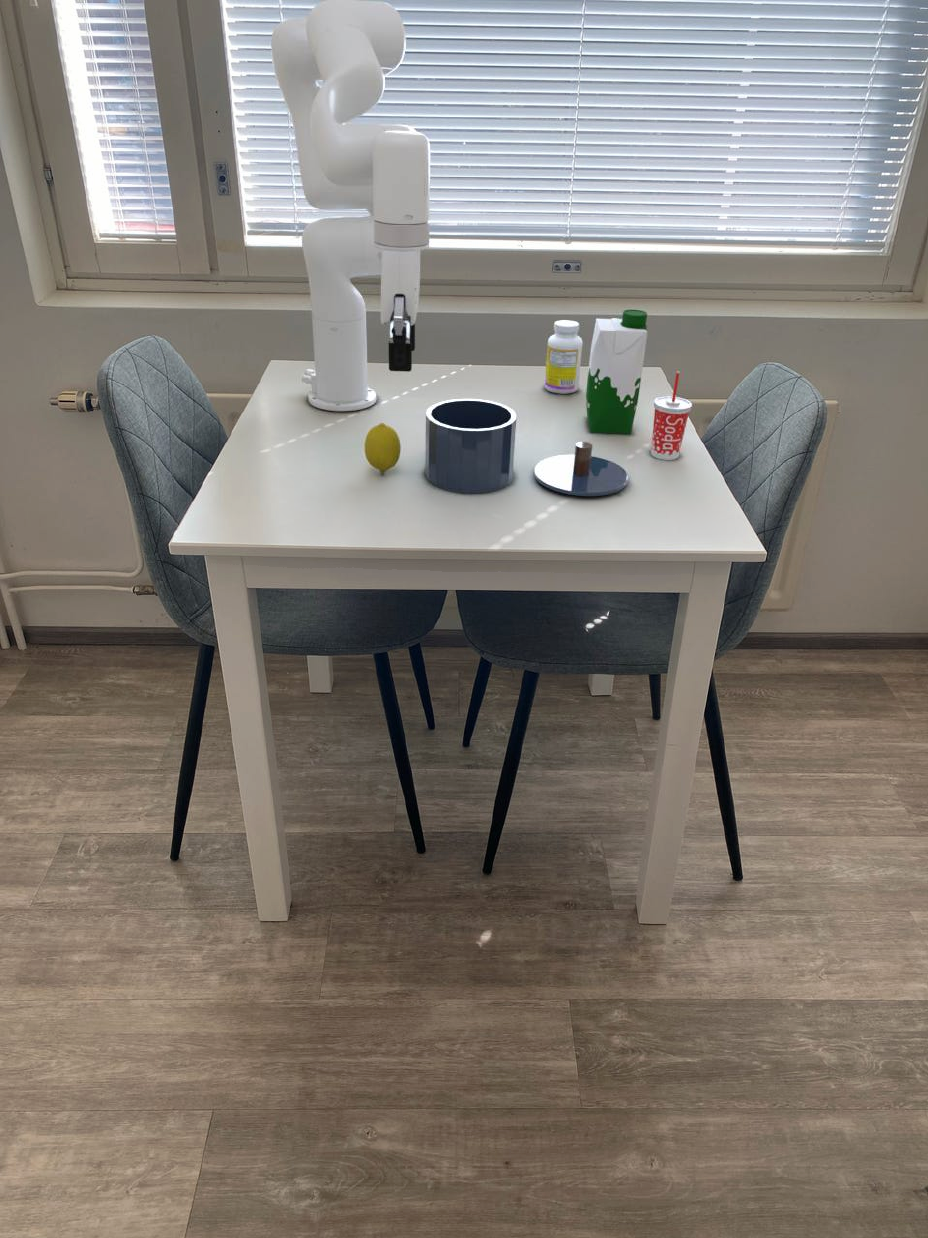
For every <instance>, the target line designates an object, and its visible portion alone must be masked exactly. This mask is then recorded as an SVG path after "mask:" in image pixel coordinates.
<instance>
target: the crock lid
mask: <svg viewBox="0 0 928 1238" xmlns="http://www.w3.org/2000/svg"><path fill="white" fill-rule="evenodd" d="M533 474H534V478H535V480H536V481H537V482H538V483H539V484H540V485H542V486H543V487H545V488H547V489H550V490H552V491H554V492H558V493H561V494H565V495H571V496H577V497H599V496H606V495H612V494H615V493H617V492H619V491H621V490H622V489H624V488H625V487H626V485H627V484H628V482H629V475H628V472H627V471H626V470H625V469H624V468H623V467H622V466H620V465H619V464H618V463H615V462H613V461H611V460H608V459H605V458H602V457H598V456H594V455H593V444H592V443H591V442H588V441H578V442H576V443H575V447H574V454H559V455H554V456H550V457H547V458H545V459H542V460H540V461H539V462H538V463H536V465H535V467H534V471H533Z"/></svg>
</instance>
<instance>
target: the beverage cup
mask: <svg viewBox="0 0 928 1238" xmlns="http://www.w3.org/2000/svg"><path fill="white" fill-rule="evenodd" d="M680 373H681V372H680V371H676V373H675V379H674V384H673V385H674V386H673V392H672V396H669V395H668V396H659V397H656V398H655V399H654V400H653V408H654V414H653V415H654V416H653V425H652V436H651V449H650V455H651V456H652V457H654V458H656V459H659V460H664V461H672V460H673V461H674V460H675V459H678V458H679V457H680V451H681V447H682V444H683V439H684V435H685V431H686V428H687V427H686V426H687V423H688V419H689V415H690V412H691V411H692V407H693V403H692V402H691V401H690V400H688V399H686V398H683V397H678V396H677V391H678V390H677V389H678V385H679V380H680V379H679V378H680Z"/></svg>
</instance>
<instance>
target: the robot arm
mask: <svg viewBox="0 0 928 1238" xmlns="http://www.w3.org/2000/svg"><path fill="white" fill-rule="evenodd" d="M406 37H407V36H406V29H405V25H404V22H403V18H402V17H401V14H400V13H399V11H398V10H397V9H396V8H395V7H394V6H393V5H391V4H390V3H388V2H384V1H376V0H375V1H374V0H324V1H321V2H319V3H317V4H316V5H315V6H314V7H313V8H312V9H311V10H310V12H309V13H308V15H307V17H294V18H293V17H292V18H289V19H288V18H287V19H285V20H283V21H281V22H279V23H278V24H277V25H276V26H275V27H274V29H273V30H272V34H271V40H270V49H271V50H270V52H271V61H272V67H273V71H274V76H275V79H276V82H277V86H278V87H279V91H280V94H281V96H282V98H283V101H284V103H285V105H286V108H287V111H288V113H289V116H290V119H291V122H292V126H293V127H292V128H293V133H294V139H295V146H296V152H297V153H296V154H297V161H298V165H299V166H298V167H299V171H300V172H299V173H300V180H301V185H302V190H303V194H304V197H305V200H306V201H307V203H308V204H309V206H311V207H312V208H314V209H318V210H325V211H327V210H329V211H340V210H366V211H367V212H368V213H369V215H357V216H356V215H355V216H354V215H345V216H344V215H341V216H340V215H339V216H325V217H320V218H316V219H314V220H311V221H310V222H309V223H307V224H306V226H305V227H304V228H303V231H302V233H301V246H302V247H301V248H302V253H303V257H304V263H305V267H306V274H307V279H308V286H309V294H310V305H311V306H310V307H311V308H310V309H311V322H312V323H311V325H312V339H313V342H312V343H313V356H314V358H313V359H314V369H311V368H307V369H305V372H304V374H303V375H302V376H301V382H302V383H304V384H309V385H311V390H310V391H309V392H308V394H307V395H308V400H307V401H308V403H309V404H310V405H312V407H315V408H317V409H320V410H324V411H330V412H355V411H360V410H364V409H367V408H369V407H372V406H373V405H374V404H375V403H376V402H377V393H376V391H375V390H374V389H372V388H370V387H369V379H368V378H369V377H368V341H367V338H368V337H367V309H366V302H365V300H364V298H363V295H362V294H361V293H360V292H359V290H358V289H357V288H356V287H355V286H354V284H353V283H352V282H351V279H353V278H358V277H369V276H371V277H372V276H380V323H381V325H383V326H386V324H389V341H388V370H389V371H390V372H407V373H408V372H411V371H412V369H413V358H412V357H413V354H412V353H413V352H414V351H415V349H416V321H417V316H418V310H419V301H420V287H421V251H424V250H428V249H429V248H430V201H431V199H430V198H431V197H430V195H431V194H430V193H431V191H430V190H431V145H430V144H431V143H430V141H429V138H428V137H427V136H426V134H423V133H421V132H417V130H415V128H413V127H411V126H409V125H404V124H381V123H349V122H351V121H353V120H356V119H357V118H359V117H361V116H363V115H365V114H367V113H368V112H370V111H371V110H372V109H374V108H375V106H377V104H378V103H379V102H380V100H381V99H382V98H383V95H384V91H385V86H386V85H385V84H386V81H385V79H386V78H385V76H387V75H389V74H391V73H392V72H394V71H395V70H397V68H398V67H400V65H401V63H402V62H403V59H404V58H405V57H404V56H405V52H406V47H407V38H406ZM318 82H323V83H322V85H320V84H319V83H318Z"/></svg>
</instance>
